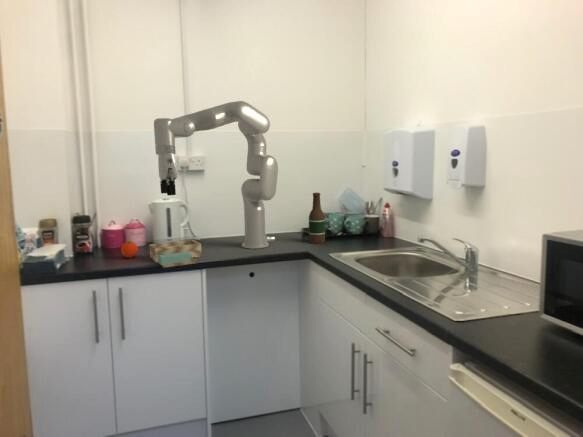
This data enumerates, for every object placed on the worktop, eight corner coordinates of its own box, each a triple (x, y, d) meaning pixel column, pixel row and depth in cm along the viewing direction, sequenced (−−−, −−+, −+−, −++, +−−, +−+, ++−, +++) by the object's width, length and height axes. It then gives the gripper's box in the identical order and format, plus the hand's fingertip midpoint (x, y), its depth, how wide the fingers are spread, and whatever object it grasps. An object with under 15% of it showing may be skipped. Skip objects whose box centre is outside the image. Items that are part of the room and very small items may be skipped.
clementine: (124, 255, 204) (123, 239, 203) (140, 254, 205) (139, 239, 204) (119, 259, 196) (118, 243, 195) (136, 259, 197) (135, 242, 196)
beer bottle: (309, 240, 230) (309, 192, 226) (325, 240, 229) (325, 191, 225) (308, 243, 222) (307, 193, 219) (324, 243, 221) (324, 193, 218)
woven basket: (193, 251, 210) (193, 239, 209) (201, 256, 200) (201, 243, 199) (150, 256, 200) (149, 244, 200) (156, 262, 190) (155, 249, 190)
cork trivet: (191, 258, 196) (191, 256, 196) (198, 262, 188) (198, 261, 188) (158, 262, 190) (158, 261, 189) (163, 267, 182) (163, 265, 182)
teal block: (187, 258, 193) (187, 251, 192) (191, 260, 189) (190, 253, 188) (158, 262, 186) (157, 255, 186) (161, 265, 183) (161, 257, 182)
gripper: (181, 150, 177) (183, 195, 179) (169, 150, 191) (171, 191, 194) (161, 150, 173) (164, 196, 176) (150, 150, 188) (153, 193, 190)
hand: (168, 194), depth 185 cm, fingers open, 9 cm apart
